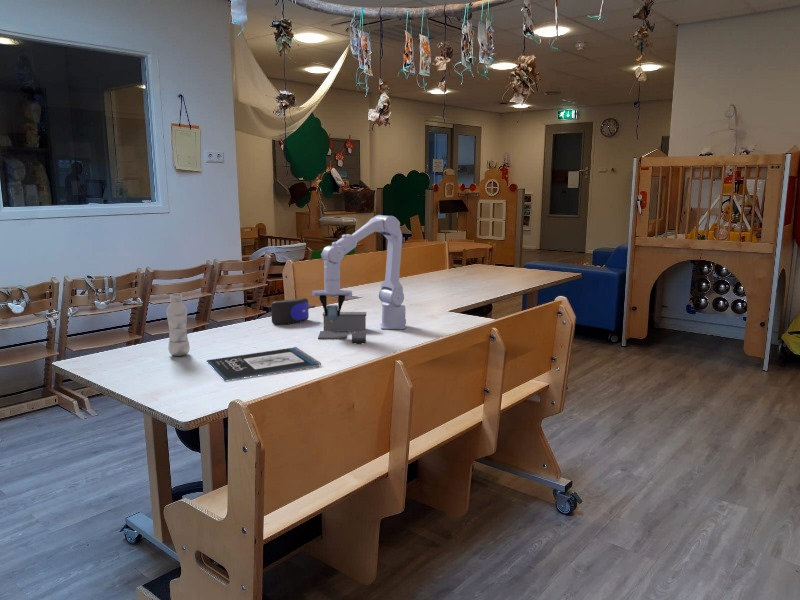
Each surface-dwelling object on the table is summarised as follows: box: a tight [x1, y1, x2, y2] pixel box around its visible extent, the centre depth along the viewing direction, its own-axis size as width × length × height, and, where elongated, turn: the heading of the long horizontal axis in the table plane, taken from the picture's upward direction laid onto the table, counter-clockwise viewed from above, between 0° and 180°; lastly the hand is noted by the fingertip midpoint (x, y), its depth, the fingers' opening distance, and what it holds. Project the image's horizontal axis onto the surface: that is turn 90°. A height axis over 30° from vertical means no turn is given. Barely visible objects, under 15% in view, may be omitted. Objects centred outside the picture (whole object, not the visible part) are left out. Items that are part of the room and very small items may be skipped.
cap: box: [351, 330, 367, 345], centre depth 216 cm, size 5×5×4 cm
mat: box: [317, 330, 348, 340], centre depth 225 cm, size 10×10×1 cm
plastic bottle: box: [165, 293, 190, 357], centre depth 196 cm, size 6×7×20 cm
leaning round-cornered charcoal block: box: [270, 297, 310, 326], centre depth 244 cm, size 16×5×9 cm, turn 126°
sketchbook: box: [206, 346, 322, 382], centre depth 189 cm, size 22×30×2 cm
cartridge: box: [327, 304, 338, 320], centre depth 223 cm, size 4×4×5 cm
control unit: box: [322, 311, 367, 332], centre depth 234 cm, size 17×5×7 cm, turn 92°
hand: (332, 315), depth 223 cm, fingers closed on cartridge, 4 cm apart
